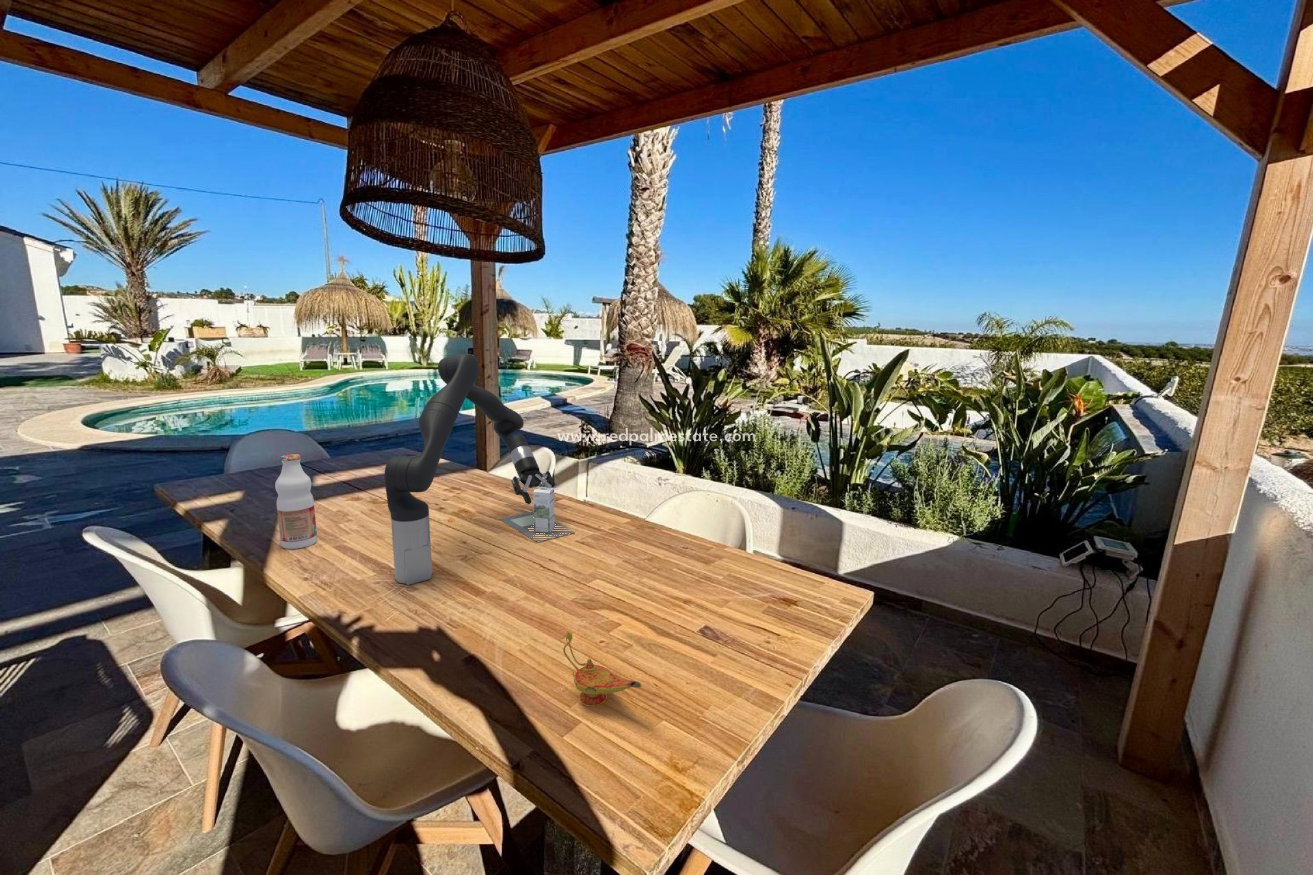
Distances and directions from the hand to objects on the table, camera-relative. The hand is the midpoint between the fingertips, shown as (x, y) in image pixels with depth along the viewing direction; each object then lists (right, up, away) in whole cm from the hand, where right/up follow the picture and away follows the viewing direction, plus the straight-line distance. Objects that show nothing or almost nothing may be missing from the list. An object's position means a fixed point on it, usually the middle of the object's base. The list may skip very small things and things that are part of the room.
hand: (541, 501), depth 179 cm
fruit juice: (-72, -12, -15) cm, 74 cm away
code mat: (-3, -9, +5) cm, 11 cm away
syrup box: (+1, -10, +1) cm, 10 cm away
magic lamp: (+29, -27, -82) cm, 91 cm away
